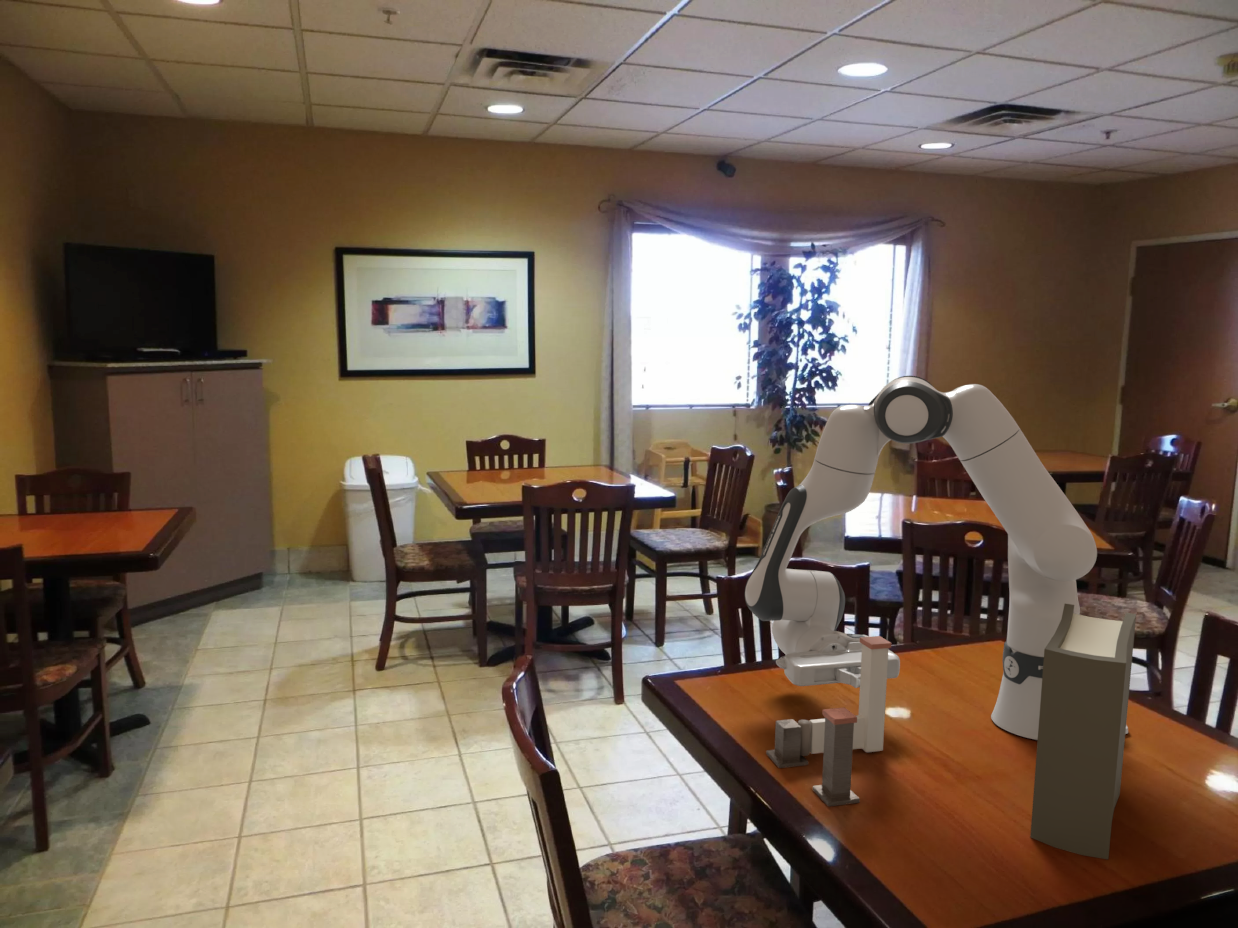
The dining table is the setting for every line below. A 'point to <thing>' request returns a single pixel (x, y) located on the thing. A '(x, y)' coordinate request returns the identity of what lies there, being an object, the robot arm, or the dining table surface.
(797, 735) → the hinge post
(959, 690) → the dining table surface
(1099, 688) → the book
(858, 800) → the post
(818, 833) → the dining table surface
